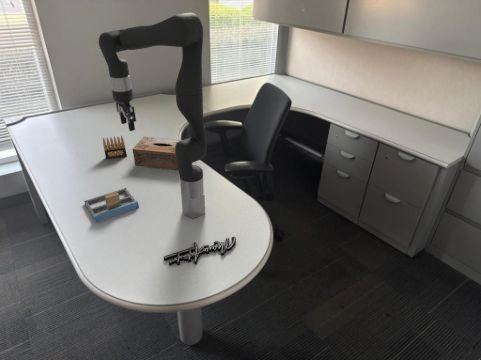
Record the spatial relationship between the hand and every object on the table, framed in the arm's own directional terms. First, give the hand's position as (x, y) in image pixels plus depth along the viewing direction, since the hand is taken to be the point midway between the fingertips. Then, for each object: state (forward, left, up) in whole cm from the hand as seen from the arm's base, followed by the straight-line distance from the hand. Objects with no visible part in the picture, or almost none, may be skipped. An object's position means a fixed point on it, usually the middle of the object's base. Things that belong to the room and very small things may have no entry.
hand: (128, 126), depth 138 cm
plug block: (-8, +14, -31) cm, 35 cm away
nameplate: (-50, -4, -32) cm, 60 cm away
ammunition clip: (+36, -2, -32) cm, 48 cm away
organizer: (-5, +14, -31) cm, 34 cm away
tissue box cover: (+18, -21, -32) cm, 42 cm away
